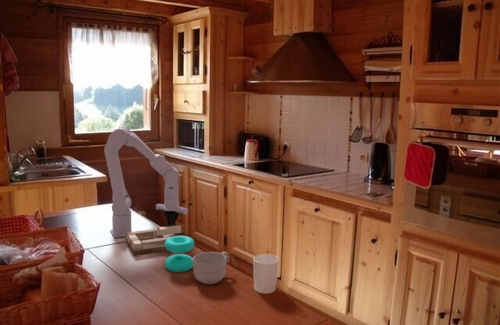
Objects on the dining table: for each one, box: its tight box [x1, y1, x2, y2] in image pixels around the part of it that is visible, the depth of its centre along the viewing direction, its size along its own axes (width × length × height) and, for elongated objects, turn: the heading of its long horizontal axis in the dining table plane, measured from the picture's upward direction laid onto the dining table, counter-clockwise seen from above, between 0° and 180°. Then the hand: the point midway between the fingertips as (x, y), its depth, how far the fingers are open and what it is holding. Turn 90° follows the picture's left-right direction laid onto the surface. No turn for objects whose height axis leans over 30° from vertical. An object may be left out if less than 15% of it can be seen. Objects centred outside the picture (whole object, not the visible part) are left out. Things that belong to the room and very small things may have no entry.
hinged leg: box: [153, 224, 182, 236], centre depth 172 cm, size 10×2×3 cm, turn 118°
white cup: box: [252, 253, 280, 295], centre depth 132 cm, size 8×8×10 cm
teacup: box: [192, 251, 230, 285], centre depth 138 cm, size 14×11×8 cm
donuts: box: [164, 235, 195, 273], centre depth 145 cm, size 10×10×10 cm
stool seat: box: [125, 228, 170, 257], centre depth 163 cm, size 14×14×4 cm
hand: (171, 228), depth 177 cm, fingers closed
